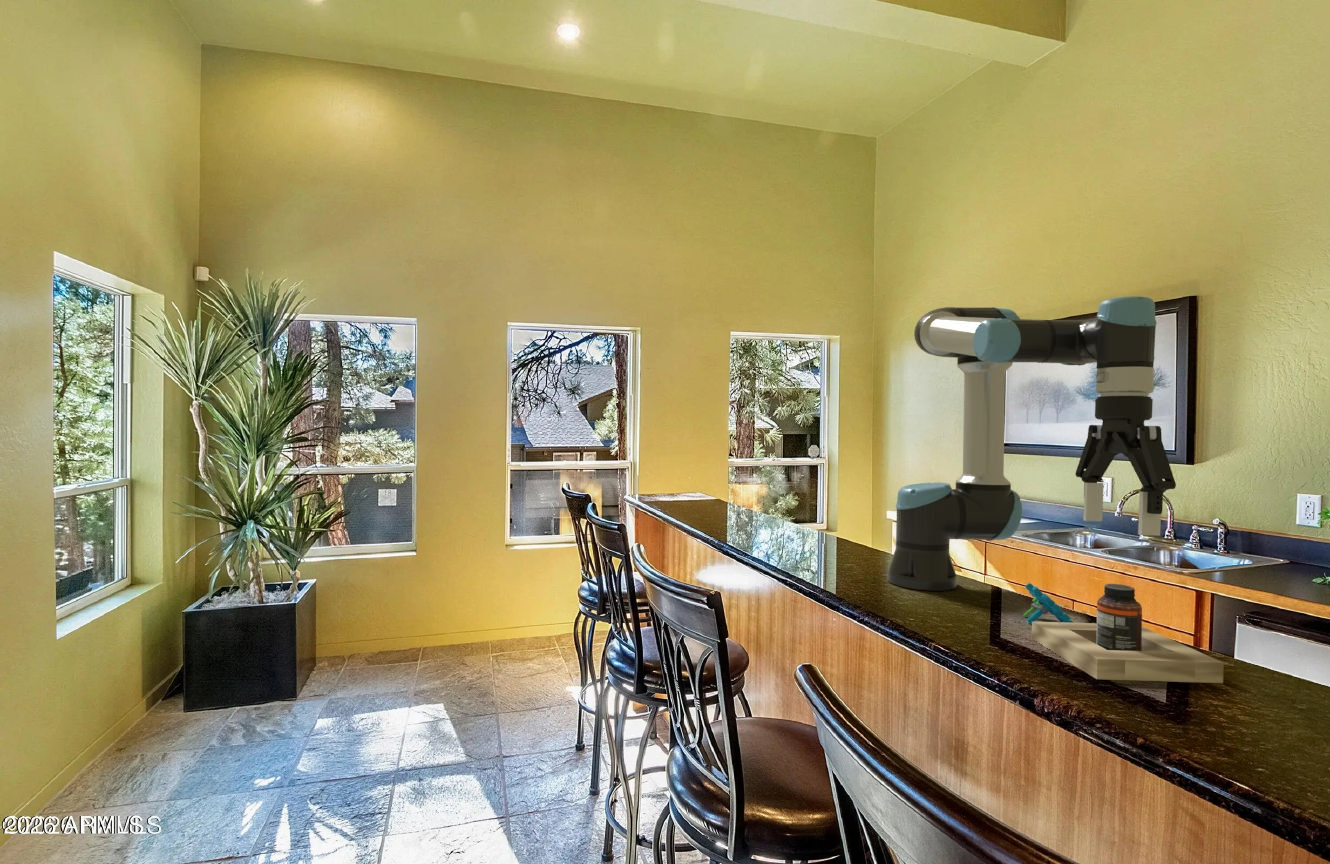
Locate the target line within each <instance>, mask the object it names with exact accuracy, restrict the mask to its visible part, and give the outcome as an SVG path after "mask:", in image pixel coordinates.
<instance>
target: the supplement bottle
mask: <svg viewBox="0 0 1330 864" xmlns="http://www.w3.org/2000/svg"><path fill="white" fill-rule="evenodd" d="M1103 586H1104V587H1103V588H1104V591H1103V592H1104V593H1103V595H1102V596H1101V597H1099V598H1098V599H1097V602H1096V623H1097V636H1096V637H1097V641H1096V644H1097V645H1099V646H1101V647H1103V648H1104V649H1106V650H1119V651H1142V627H1143V608H1142V605H1141V603H1140V602H1138V601H1137V600H1136V598H1135V597H1136V593H1135V592H1136V590H1135V588H1134V587H1133V586H1130V585H1126V584H1119V583H1107V584H1104V585H1103Z"/></svg>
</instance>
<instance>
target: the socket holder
mask: <svg viewBox="0 0 1330 864" xmlns="http://www.w3.org/2000/svg"><path fill="white" fill-rule="evenodd" d="M1096 636H1097V622H1096V623H1095V622H1091V623H1090V622H1073V623H1065V622H1060V621H1058V622H1057V621H1034V622H1032V624H1031V638H1032V639H1031V640H1033V641H1034V640H1035V642H1036V641H1037V642H1036V643H1038V644H1039V643H1040V644H1039V645H1041V644H1042V645H1043V647H1044V648H1045V649H1047V648H1048V649H1047V650H1049V649H1050V650H1051V652H1052V651H1053V652H1052V653H1053V654H1055V653H1056V654H1055V655H1057V656H1059V657H1060V656H1061V658H1062V659H1063V658H1064V659H1063V660H1065V661H1067V662H1068V663H1070V664H1072V665H1073V666H1075V667H1076V668H1078V669H1080V671H1083V672H1085V673H1086V674H1088V675H1089V676H1091V677H1093V678H1094V679H1096V680H1108V681H1109V680H1110V681H1111V680H1112V681H1115V680H1116V681H1143V682H1144V681H1145V682H1176V683H1177V682H1178V683H1203V684H1205V683H1207V684H1208V683H1209V684H1212V683H1213V684H1224V667H1225V665H1224V662H1223V661H1221V660H1219V659H1217V658H1214V657H1212V656H1210V655H1207V654H1205V653H1202V652H1200V651H1198V650H1197V649H1194V648H1192V647H1189V646H1187V645H1185V644H1183V643H1180V642H1178V641H1175V640H1173V639H1172V638H1169V637H1167V636H1164V635H1162V634H1160V633H1158V632H1156V631H1153V630H1151V629H1148V628H1146V627H1144V626H1142V651H1119V650H1106V649H1104V648H1103V647H1101V646H1099V645H1097V644H1096V641H1097V637H1096ZM1042 645H1041V646H1042ZM1050 650H1049V651H1050Z"/></svg>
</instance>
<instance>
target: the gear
mask: <svg viewBox="0 0 1330 864" xmlns="http://www.w3.org/2000/svg"><path fill="white" fill-rule="evenodd" d="M1024 587H1025V589H1026V590H1027V591H1028V593H1029V594H1030V595H1031V596H1032V597H1033V599H1032V600H1031V601H1032V602H1033V603H1031V604H1030V606H1031V607H1030V609H1028V610H1027V611H1026V612H1025V613H1023V616H1024V618H1026V617H1027V619H1026V621H1027V623H1029V625H1032V622H1036V621H1037V620H1038V619H1039V618H1040V617H1041V616H1042V615H1046V614H1047V613H1049V614H1051V615H1052V616H1055V618H1056V620H1058V622H1065V623H1074V621H1072V619H1071V618H1072V617H1070V616H1069V615H1068V614H1067V613H1066V612H1063V611H1062V607H1060V606H1059V605H1058V604H1057V603H1056V602H1055V601H1054V600H1053V599H1052V598H1050V597H1049V596H1048V595H1047V594H1046V593H1043V592H1042V591H1041V590H1040V589H1039V588H1038V586H1036V585H1033V584H1032V583H1031V582H1029V583H1026V584H1025V585H1024Z"/></svg>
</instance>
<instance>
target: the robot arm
mask: <svg viewBox="0 0 1330 864" xmlns="http://www.w3.org/2000/svg"><path fill="white" fill-rule="evenodd" d="M1156 326H1157V320H1156V304H1155V301H1154V299H1152V298H1150V297H1147V296H1140V295H1139V296H1137V295H1136V296H1135V295H1134V296H1121V297H1112V298H1108V299H1105V300H1102V301H1101V303H1100V304H1099V306H1098V310H1097V314H1096V317H1094V318H1089V319H1080V320H1079V319H1078V320H1077V319H1026V318H1025V319H1022V318H1020V317H1019V315H1017V312H1015V311H1014V310H1011V309H1010V308H998V307H995V306H993V307H954V306H953V307H952V306H951V307H950V306H949V307H947V306H945V307H941V308H936V309H932V310H930V311H928V312H926V313H925V314H924V315H923V316H921V317H920V318H919V320H918V321H917V323H916V325H915V328H914V331H913V332H914V335H913V336H914V340H915V343H916V345H917V346H918V348H920V350H922V351H923V352H925V353H926V354H929V355H932V356H936V357H942V358H957V368H958V369H959V370H960V371H962V373H963V377H964V379H963V434H962V435H963V438H962V439H963V440H962V441H963V442H962V443H963V445H962V449H963V450H962V474H961V475H960V477H958V479H956V480H955V489H954V488H953V487H952V486H951V484H950V483H948V482H922V483H921V482H920V483H914V484H913V483H912V484H908V485H904V486H902V487H900V489H899V490H898V492H897V498H896V499H897V500H896V504H895V508H896V521H895V522H896V526H895V527H896V528H895V529H896V531H895V532H896V533H895V534H896V535H895V550H894V552H893V555H892V558H891V561H890V563H889V566H888V569H887V575H886V576H887V578H886V579H887V581H888V582H889V583H891V584H893V585H895V586H898V587H902V588H906V589H911V590H918V591H931V592H932V591H934V592H937V591H938V592H939V591H941V592H942V591H944V592H945V591H951V589H952V590H954V589H956V588H957V586H958V583H957V582H958V576H957V573H956V571H955V570H956V569H955V568H954V564H953V560H952V557H951V554H950V542H951V541H950V540H975V541H977V540H979V541H980V540H981V541H983V540H984V541H987V542H988V541H989V542H991V541H998V540H999V541H1000V540H1007V539H1009V538H1012V536H1013V535H1014V534H1015V533H1016V532H1017V530H1018V529H1019V527H1020V524H1021V522H1022V517H1023V504H1022V501H1021V497H1020V495H1019V494H1018V492H1016V491H1014V490H1013V489H1011V487H1012V482H1010V480H1008V478H1006V477H1005V473H1004V470H1005V468H1004V467H1005V463H1004V460H1005V456H1004V455H1005V398H1006V397H1005V394H1006V392H1005V390H1006V389H1005V388H1006V372H1007V371H1009V369H1010V368H1011V367H1012V366H1013V363H1038V364H1040V363H1041V364H1060V365H1063V366H1085V365H1086V364H1092V363H1096V375H1095V379H1096V384H1095V385H1096V387H1095V392H1096V393H1097V394H1100V396H1097V397H1096V398H1095V399H1094V401H1095V402H1094V404H1095V405H1094V418H1095V419H1097V420H1101V421H1102V424H1101V425H1100V424H1090V425H1089V426H1088V428H1087V429H1088V430H1087V437H1086V441H1085V444H1084V447H1083V450H1082V451H1081V452H1082V453H1081V456H1080V459H1079V461H1078V465H1077V467H1076V470H1075V477H1076V478H1080V479H1081V481H1082V483H1083V482H1084V483H1083V484H1084V485H1083V518H1082V519H1083V521H1085V522H1103V513H1104V510H1103V509H1104V506H1103V505H1104V482H1105V481H1104V479H1103V476H1104V474H1105V473H1106V471H1107V470H1108V468H1109V466H1110V465H1111V463H1112V461H1113V460H1114V459H1115V457H1116V456H1117V455H1119V454H1121V455H1123V456H1124V457H1126V458H1128V461H1129V462H1130V464H1131V466H1132V468H1133V470H1134V472H1135V473H1136V474H1135V475H1137V478H1138V479H1139V482H1140V483H1141V486H1142V487H1141V488H1140V489H1139V499H1138V500H1139V502H1138V504H1139V505H1138V527H1137V529H1138V530H1137V535H1140V536H1157V537H1158V536H1159V537H1160V536H1161V526H1162V525H1161V521H1162V513H1163V508H1164V507H1163V504H1164V501H1163V499H1164V493H1165V492H1166V491H1168V490H1175V489H1176V486H1177V484H1176V481H1175V478H1174V475H1173V471H1172V468H1171V465H1170V462H1169V459H1168V455H1167V453H1166V450H1165V446H1164V444H1163V441H1162V439H1163V437H1162V428H1161V426H1159V425H1145V421H1150V420H1151V419H1152V418H1153V402H1154V399H1153V398H1152V396H1149V394H1152V393H1153V392H1154V383H1155V379H1154V378H1155V377H1154V376H1155V367H1154V362H1155V350H1156V349H1155V346H1156V331H1157V330H1156V328H1157V327H1156Z"/></svg>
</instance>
